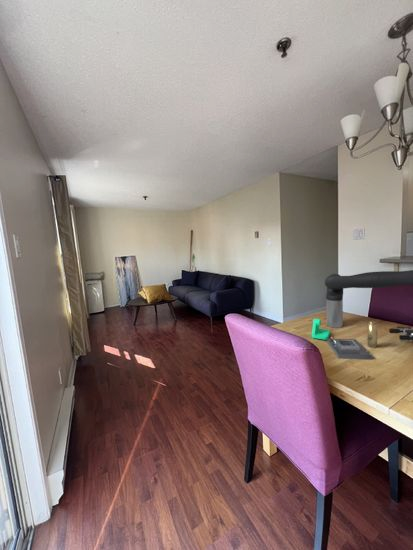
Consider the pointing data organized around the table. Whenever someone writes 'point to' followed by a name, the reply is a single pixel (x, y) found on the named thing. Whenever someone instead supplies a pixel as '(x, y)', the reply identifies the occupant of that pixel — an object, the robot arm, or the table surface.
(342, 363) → the table surface
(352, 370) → the table surface
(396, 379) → the table surface
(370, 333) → the brass cylinder peg
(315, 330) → the camera mount
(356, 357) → the dock
